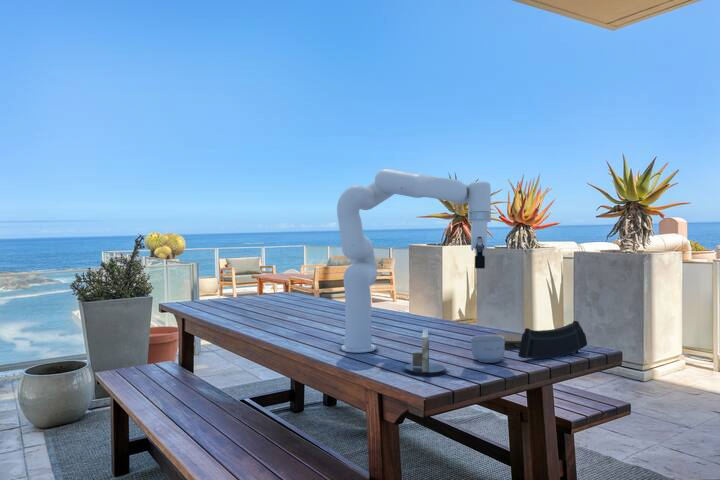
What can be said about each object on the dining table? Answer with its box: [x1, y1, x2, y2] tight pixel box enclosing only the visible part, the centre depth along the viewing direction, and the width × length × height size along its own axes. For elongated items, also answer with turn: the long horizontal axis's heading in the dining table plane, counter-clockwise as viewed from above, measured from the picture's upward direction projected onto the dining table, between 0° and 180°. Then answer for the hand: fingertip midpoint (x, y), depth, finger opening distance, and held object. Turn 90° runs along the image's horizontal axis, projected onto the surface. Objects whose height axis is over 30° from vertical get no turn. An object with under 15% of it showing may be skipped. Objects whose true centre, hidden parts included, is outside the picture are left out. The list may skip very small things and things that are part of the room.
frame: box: [412, 328, 430, 372], centre depth 151 cm, size 5×14×10 cm, turn 172°
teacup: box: [470, 334, 506, 364], centre depth 165 cm, size 14×11×8 cm
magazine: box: [517, 320, 588, 360], centre depth 170 cm, size 17×3×30 cm
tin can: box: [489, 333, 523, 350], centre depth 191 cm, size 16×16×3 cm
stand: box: [405, 362, 447, 377], centre depth 151 cm, size 12×12×1 cm
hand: (479, 267), depth 171 cm, fingers open, 9 cm apart
